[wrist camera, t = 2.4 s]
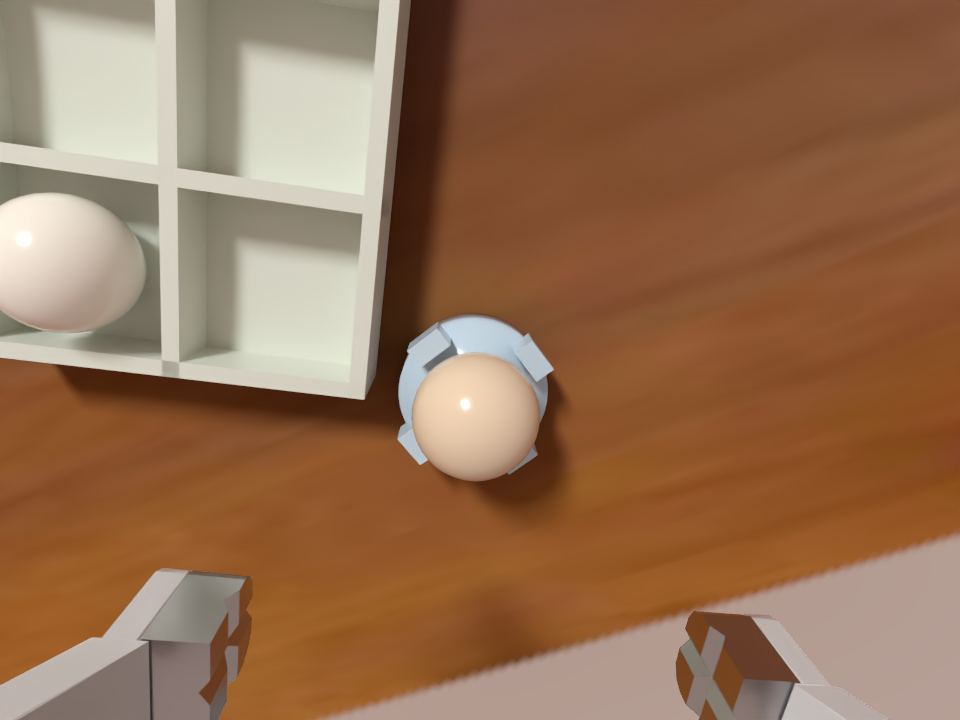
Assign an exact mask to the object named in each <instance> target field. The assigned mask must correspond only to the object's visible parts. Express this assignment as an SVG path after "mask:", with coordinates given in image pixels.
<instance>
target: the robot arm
mask: <svg viewBox="0 0 960 720" xmlns="http://www.w3.org/2000/svg"><path fill="white" fill-rule="evenodd" d="M251 598H252V579H251V578H250V576H242V575H232V574H222V573H212V572H202V571H189V570H178V569H167V568H162V569H160V570H158V571H156V572H155V573H154V574H153V575H152V576H151V578H150V579H149V580H148V581H147V582H146V584H145V585H144V586H143V587H142V589H141V590H140V591H139V592H138V594H137V595H136V596H135V597H134V599H133V600H132V601H131V602H130V603H129V605H128V606H127V607H126V608H125V610H124V611H123V612H122V613H121V615H120V616H119V617H118V618H117V620H116V621H115V622H114V623H113V624H112V626H111V627H110V628H109V629H108V631H107V632H106V633H105V634H104V636H103V637H102V638H90V639H88V640H86V641H84V642H82V643H80V644H78V645H76V646H75V647H73V648H71V649H69V650H67V651H65V652H63V653H61V654H59V655H57V656H55V657H54V658H52V659H50V660H48V661H46V662H44V663H42V664H40V665H38V666H36V667H34V668H33V669H31V670H29V671H27V672H25V673H23V674H21V675H19V676H17V677H15V678H13V679H12V680H10V681H8V682H6V683H4V684H2V685H0V720H218V719H219V717H220V715H221V712H222V710H223V708H224V706H225V704H226V701H227V685H228V684H229V683H230V682H232V681H233V680H235V679H236V678H237V677H238V674H239V672H240V670H241V667H242V665H243V663H244V659H245V656H246V652H247V649H248V645H249V640H250V634H251V621H252V618H251V616H250V615H249V614H248V612H247V611H246V608H247V606H248V604H249V602H250V600H251ZM685 629H686V631H687V633H688V635H689V637H690V639H689V640H688V641H687V642H686V643H685V644H684V645H683V646H681V647H680V649H679V653H678V657H677V661H676V675H677V682H678V686H679V689H680V692H681V695H682V697H683V699H684V701H685V703H686V705H687V706H688V707H689V708H691V709H692V710H693V711H694V712H695V713H696V714H697V715H699V716H700V718H699V720H890V719H888V718H886V717H885V716H883V715H882V714H880V713H879V712H877V711H876V710H874V709H873V708H871V707H870V706H868V705H867V704H865V703H863V702H862V701H860V700H859V699H857V698H856V697H854V696H853V695H851V694H850V693H848V692H847V691H845V690H844V689H842V688H840V687H839V686H831V685H830V684H829V683H828V682H827V681H826V679H825V678H824V677H823V676H822V674H821V673H820V672H819V671H818V670H817V668H816V667H815V666H814V665H813V663H812V662H811V661H810V660H809V659H808V657H807V656H806V655H805V654H804V652H803V651H802V650H801V649H800V647H799V646H798V645H797V644H796V643H795V641H794V640H793V639H792V638H791V636H790V635H789V634H788V633H787V631H786V630H785V629H784V628H783V626H782V625H781V624H780V623H779V622H778V620H776V619H775V618H773V617H771V616H769V615H751V614H744V615H739V614H724V613H711V612H697V611H694V612H693V613H692V614H691V615H690V617H689V618H688V621H687V625H686V628H685Z"/></svg>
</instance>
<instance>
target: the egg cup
mask: <svg viewBox="0 0 960 720" xmlns="http://www.w3.org/2000/svg"><path fill="white" fill-rule="evenodd" d="M407 352H408V355H407V357H406V360H405V364H404V367H403V370H402V373H401V376H400V381H399V394H398V395H399V404H400V408H401V412H402V415H403V417H404V420H405V422H406V423H405V424H404V425H402V426H401V427H400V431H399V435H398V441H399V442H400V443H401V444H402V445H403V446H404V447H405V449H406V450H407V451H408V452H409V453H410V454H411V455H412V456H413V458H414V459H415V460H416V461H417V462H418V463H419V464H420V465H421V464H423V463H424V462H425V461H427V460H428V459H427V458H426V457H425V455H424V454H423V453H422V451H421V450H420V448H419V446H418V444H417V442H416V439H415V436H414V433H413V428H412V420H411V417H412V405H413V400H414V397H415V394H416V392H417V389H418V387H419V385H420V383H421V382H422V380H423V379H424V377H425V376H426V375H427V374H428V373H429V372H430V371H431V370H432V369H433V368H434V367H435V366H437V365H438V364H439V363H441V362H442V361H444V360H446V359H448V358H450V357H452V356H455V355H458V354H462V353H467V352H484V353H490V354H494V355H497V356H499V357H502V358H504V359H506V360H508V361H509V362H511V363H512V364H514V365H515V366H516V367H517V368H519V369H520V370H521V371H522V372H523V373H524V375H525V376H526V377H527V379H528V380H529V382H530V383H531V385H532V386H533V389H534V391H535V393H536V396H537V399H538V403H539V409H540V421H541V419H542V417H543V414H544V412H545V408H546V404H547V397H548V383H547V377H546V375H547V374H548V373H550V372H551V371H553V370H554V369H553V367H552V365H551V364H550V362H549V361H548V359H547V358H546V357H545V355H544V354H543V352H542V351H541V350H540V348H539V347H538V346H537V344H536V343H535V342H534V340H533V339H532V338H531V336H530V335H529V334H527V335H524V334H523V333H522V332H521V331H519V330H518V329H517V328H516V327H514V326H513V325H511V324H510V323H508V322H506V321H504V320H502V319H500V318H497V317H494V316H490V315H485V314H475V313H470V314H461V315H455V316H452V317H449V318H446V319H444V320H442V321H439V322H437V323H436V324H434V325H433V326H431V327H430V328H428V329H427V330H426V331H425V332H424V333H422V334H421V335H420V336H418V337H417V338H416V339H414V340H413V341H412V342H410V343H409V346H408V349H407ZM539 423H540V422H539ZM537 455H538V454H537V451H536V447H535V444H534V445H533V446H532V448H531V450H530V452H529V453H528V455H527V456H526V457H525V459H524V460H523V461H522V462H521V463H520V464H519V465H517V466H516V467H515V468H514V469H512V470H511V471H509V472H507V473H508V474H509V475H510V474H511V473H513V472H514V471H515V470H517V469H518V468H520V467H521V466H523V465H524V464H526V463H527V462H528V461H530V460H531V459H533V458H534V457H536V456H537Z"/></svg>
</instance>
